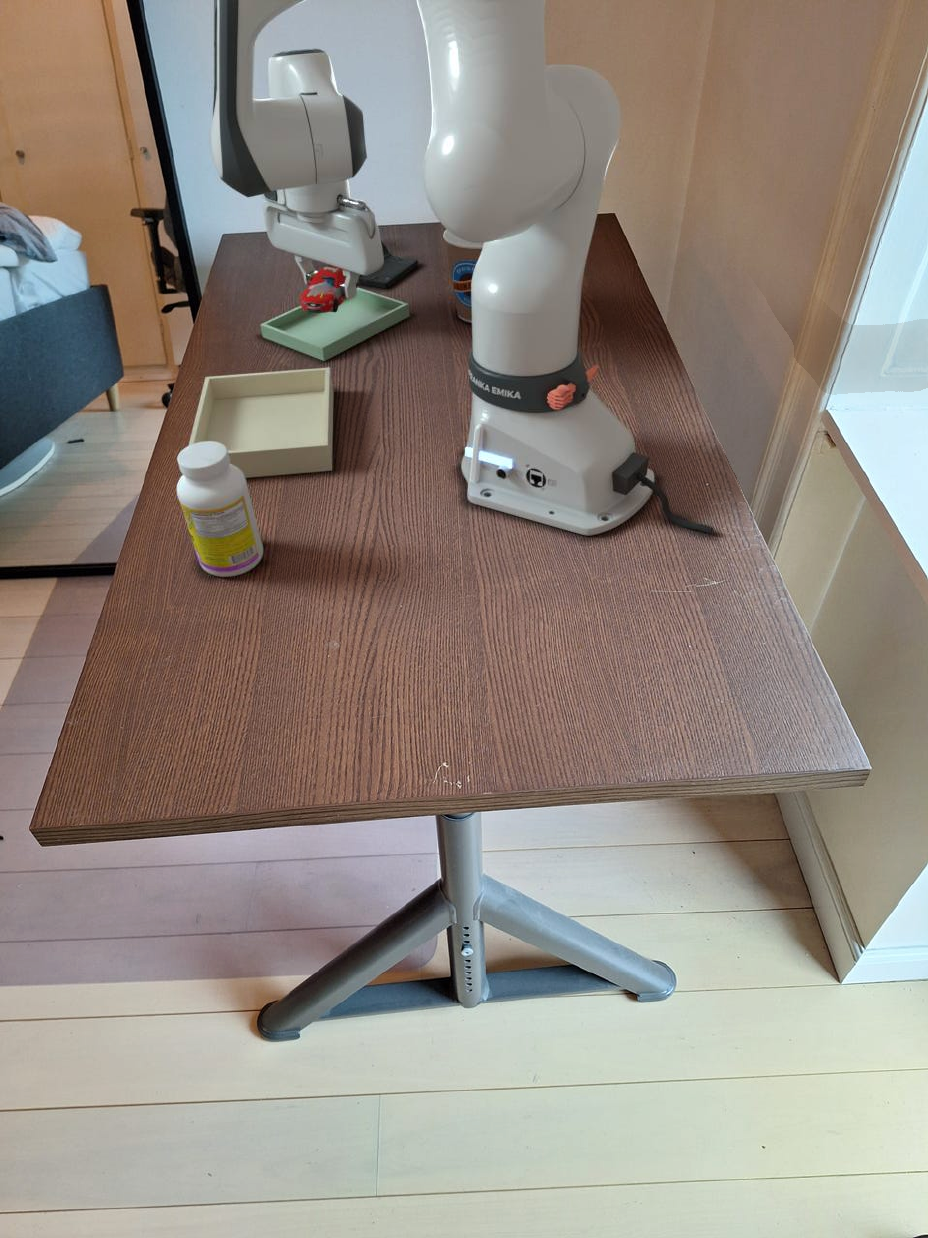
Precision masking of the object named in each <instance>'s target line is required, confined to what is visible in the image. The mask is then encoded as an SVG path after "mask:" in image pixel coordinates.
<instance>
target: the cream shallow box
mask: <svg viewBox="0 0 928 1238" xmlns="http://www.w3.org/2000/svg"><path fill="white" fill-rule="evenodd" d="M192 426H193V427H192V430H191V434H190V438H189V442H188V446H189V445H192V444H195V443H198V442H205V441H214V442H219V443H221V444H223V445H224V446H225V447H226V448H227V451H228V454H229V457H230V464H232V465H234V466H236V467H237V468H239V469H240V470H241V471H242V473H243V474H244V476H245V478H259V477H271V476H281V475H282V476H284V475H292V474H294V475H295V474H306V473H307V474H308V473H319V472H331V471H333V441H334V440H333V439H334V437H333V436H334V435H333V433H334V385H333V380H332V372H331V368H330V367H319V368H318V367H317V368H305V369H290V370H280V371H279V370H278V371H267V372H253V373H251V372H250V373H239V374H226V375H215V376H214V375H213V376H205V378H204V382H203V385H202V390H201V393H200V398H199V402H198V406H197V410H196V414H195V418H194V422H193V425H192Z"/></svg>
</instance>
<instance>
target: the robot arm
mask: <svg viewBox="0 0 928 1238" xmlns="http://www.w3.org/2000/svg"><path fill="white" fill-rule="evenodd" d="M306 1H307V0H213V105H212V121H211V126H210V149H211V155H212V159H213V163H214V166H215V168H216V171H217V173H218V175H219V178H220V180H221V181H222V182H223V183H224V184H225V185H226V186H228V187H229V188H230V189H232V190H234V191H235V192H237V193H238V194H240V195H243V196H244V197H246V198H252V197H257V196H260V197H261V198H262V199H263V200H264V201H263V204H262V209H263V210H262V211H263V217H264V223H265V229H266V233H267V237H268V240H269V241H270V243H271V245H272V246H273V247H274V249H277V250H280V251H284V252H288V253H291V254H293V255H294V260H295V262H296V264H297V267H298V268H299V270H300V272H301V273H302V275H303V280H304V284H305V285H307V286H309V285H310V284H309V283H307V281H312V279H313V277H314V276H315V275H316V273H317V272H318V271H319V270H316V269H315V267H314V264H313V263H312V260H314V261H316V262H320V263H323V264H325V265H327V264H329V265H332V266H335V267H338V268H342V269H343V275H344V276H346V280H345V284H342V285H340V290H341V295H342V296H343V297H346V298H349V299H351V298H353V297H355V296H356V295H357V290H356V283H357V281H358V278H359V276H360V274H361V275H365V276H366V275H369V274H372V273H374V272H376V271H378V270H380V269H381V267H382V265H383V263H384V256H383V250H382V244H381V241H382V239H381V235H380V234H381V233H380V229H379V226H378V223H377V220H376V216H375V212H374V211H372V210H371V208H370V207H369V206H368V205H367V202H366V201H364V200H362V199H354V198H352V197H351V191H350V183H349V180H350V179H354V177H355V176H356V175H358V173H359V172H360V170H361V168H362V167H363V166H364V164H365V162H366V160H367V158H368V154H367V146H366V136H365V125H364V124H365V122H364V121H365V120H364V114H363V110H362V109H361V107H360V106H359V105H357V104H356V103H355V102H354V101H353V100H351V99H350V98H349V97H348V96H346V95H345V94H343V93H340V92H338V86H337V81H336V78H335V74H334V68H333V65H332V61H331V56H330V55H329V53H328V52H326V51H325V50H322V49H320V48H305V49H294V50H293V49H291V50H286V51H284V50H283V51H279V52H276V53H274V54H273V55H272V56H271V57H269V59H268V89H269V98H263V99H257V98H254V80H255V79H254V77H255V53H256V51H255V50H256V46H257V45H256V44H257V41H258V39H259V36H260V35H261V33H262V32H263V31H264V29H265V28H266V27H267V26H268V25H270V23H271V22H273V21H274V20H275V19H276V18H278V17H279V16H281V15H283V14H284V13H285V12H287V11H289V10H291V9H292V8H294V7H295V6H298V5H299V4H301V3H304V2H306ZM546 2H547V0H416V3H417V7H418V11H419V14H420V18H421V23H422V27H423V33H424V38H425V45H426V51H427V58H428V69H429V70H428V71H429V81H430V95H431V97H430V98H431V128H430V129H431V130H430V134H429V135H430V136H429V142H428V143H427V144H428V145H427V148H426V151H425V154H424V158H423V164H422V165H423V166H422V183H423V189H424V193H425V197H426V199H427V202H428V204H429V207H430V209H431V210H432V213H433V215H434V216H435V217H436V219H437V220H438V222H440V224H441V225H442V226H443V227H444V228H445V230H446V229H447V230H448V231H450V232H451V233H452V234H454V235H455V236H457V237H459V238H461V239H463V240H466V241H469V242H474V243H484V245H483V249H482V252H481V254H480V257H479V259H478V261H477V264H476V266H475V269H474V272H473V276H472V282H471V305H472V323H471V335H472V338H471V339H472V346H471V348H470V350H469V352H468V385H469V388H470V390H471V392H472V396H471V397H472V399H471V412H470V413H471V414H470V422H469V431H468V436H467V440H466V441H467V442H466V447H465V448H464V454H463V456H462V458H461V459H462V460H461V465H460V466H461V472H462V476H463V477H464V479H465V481H466V482H467V491H466V492H467V493H466V497H467V500H468V502H469V503H471V504H474V505H477V506H481V507H484V508H487V509H491V510H494V511H499V512H501V513H505V514H508V515H513V516H516V517H519V518H522V519H526V520H529V521H532V522H533V521H534V522H537V523H540V524H544V525H547V526H551V527H554V528H558V529H560V530H565V531H568V532H572V533H575V534H579V535H581V536H582V535H583V536H588V537H589V536H594V535H599V534H602V533H605V532H608V531H611V530H612V529H614V528H617V527H618V526H621V524H624V523H625V522H626V521H628V520H629V519H631V517H633V516H635V514H636V513H637V512H639V511H640V510H641V509H642V507H644V506H645V504H646V503H647V502H648V500H649V499H650V498H651V496H652V494H653V492H654V494H655V495H656V496H657V497H658V498H659V500H660V503H661V508H662V513H663V514H664V516H665V517H666V518H667V519H668V520H669V521H670V522H672V523H673V524H675V525H677V526H679V527H682V528H684V529H689V530H693V531H697V532H703V533H707V534H709V535H711V534H712V532H713V531H714V527H713V526H710V525H707V524H702V523H697V522H692V521H689V520H688V521H687V520H684V519H682V518H680V517H678V516H677V515H675V514H674V513H673V512H672V510H671V508H670V503H669V500H668V497H667V495H666V493H665V491H664V490H662V488H661V487H660V486H658V485H657V483H655V472H654V471H653V470H652V469H650V468H649V463H650V456H647V455H644V454H641V453H638V452H637V451H636V443H635V438H634V436H633V433H632V431H631V430H630V429H629V428H628V427H627V426H626V425H625V424H624V423H623V422H622V421H621V420H620V419H619V418H618V417H617V416H616V414H615V413H614V412H613V411H612V410H611V409H610V408H609V407H608V406H607V405H606V404H605V403H604V402H603V401H602V400H601V398H600V397H599V396H598V395H597V394H596V393H595V392H594V391H593V390H592V389H591V387H590V386H591V385H590V381H592V380H593V379H594V378H596V376H597V375H599V372H598V368H599V366H600V365H599V364H595V365H594V366H592V367H591V368H589V369H588V370H586V366H585V362H584V360H583V356H582V354H581V350H580V348H579V346H578V344H579V343H578V342H579V331H580V329H579V328H580V315H581V302H582V301H581V300H582V289H583V282H584V281H583V280H584V275H585V269H586V264H587V259H588V254H589V251H590V246H591V243H592V238H593V234H594V230H595V225H596V221H597V218H598V213H599V208H600V204H601V200H602V199H601V198H602V194H603V189H604V185H605V179H606V175H607V171H608V168H609V165H610V162H611V160H612V157H613V154H614V152H615V149H616V147H617V145H618V142H619V139H620V134H621V128H622V113H621V106H620V103H619V100H618V97H617V94H616V92H615V91H614V89H613V87H612V85H611V84H610V83H609V81H608V80H607V79H606V78H605V77H604V76H603V75H602V74H601V73H599V72H597V71H596V70H594V69H592V68H590V67H586V66H583V65H576V64H550V65H549V64H548V65H547V56H546V52H547V51H546V33H545V32H546V31H545V15H546V14H545V13H546Z"/></svg>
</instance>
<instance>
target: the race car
mask: <svg viewBox="0 0 928 1238" xmlns="http://www.w3.org/2000/svg"><path fill="white" fill-rule="evenodd" d="M317 271H318V272H317V273H316V275H315V276H314V277H313V279H312V281H307V283H309V284H310V285H307V286H308V287H307V288H306V289H305V290H304V292H303V293H302V294H301V295H300V306H301V307H302V309H303V310H305V311H307V312H312V313H326V312H337V310H338V306H340V305H341V304H342V302H343V301H344V300H345V299H346V297H343V296H342V295H341V290H340V285H342V284H345V280H346V276H344V275H343V269H342V268H338V267H335V266H332V265H329V264H325V265H324V266H322V267H321V268H320V269H319V270H317ZM358 285H360V284H359V278H358V281H357V283H356V289H357V287H358Z"/></svg>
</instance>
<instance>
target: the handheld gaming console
mask: <svg viewBox="0 0 928 1238" xmlns="http://www.w3.org/2000/svg"><path fill="white" fill-rule="evenodd" d="M381 244H382V250H383V256H384V263H383V265H382V267H381V269H380V270H378V271H376V272H374V273H372V274H369V275H366V276H365V275H361V274H360V276H359V284H358V285H362V286H363V285H364V286H369V287H375V288H380V289H385V290H387V289H388V288H390V287H391V286H393V285H394V284H395V283H396V282H398V281H399V280H401V279H402V278H403V277H405V276H406V275H407V274H409V273H410V272H412V271H413V270H414V269H416V268H417V267H418V266H419V260H418V259H416V258H411V257H405V256H398V255H393V254H392V253H391V252H390V251H389V250H388V247H386V245H385V244H384V241H382V240H381Z"/></svg>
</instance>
